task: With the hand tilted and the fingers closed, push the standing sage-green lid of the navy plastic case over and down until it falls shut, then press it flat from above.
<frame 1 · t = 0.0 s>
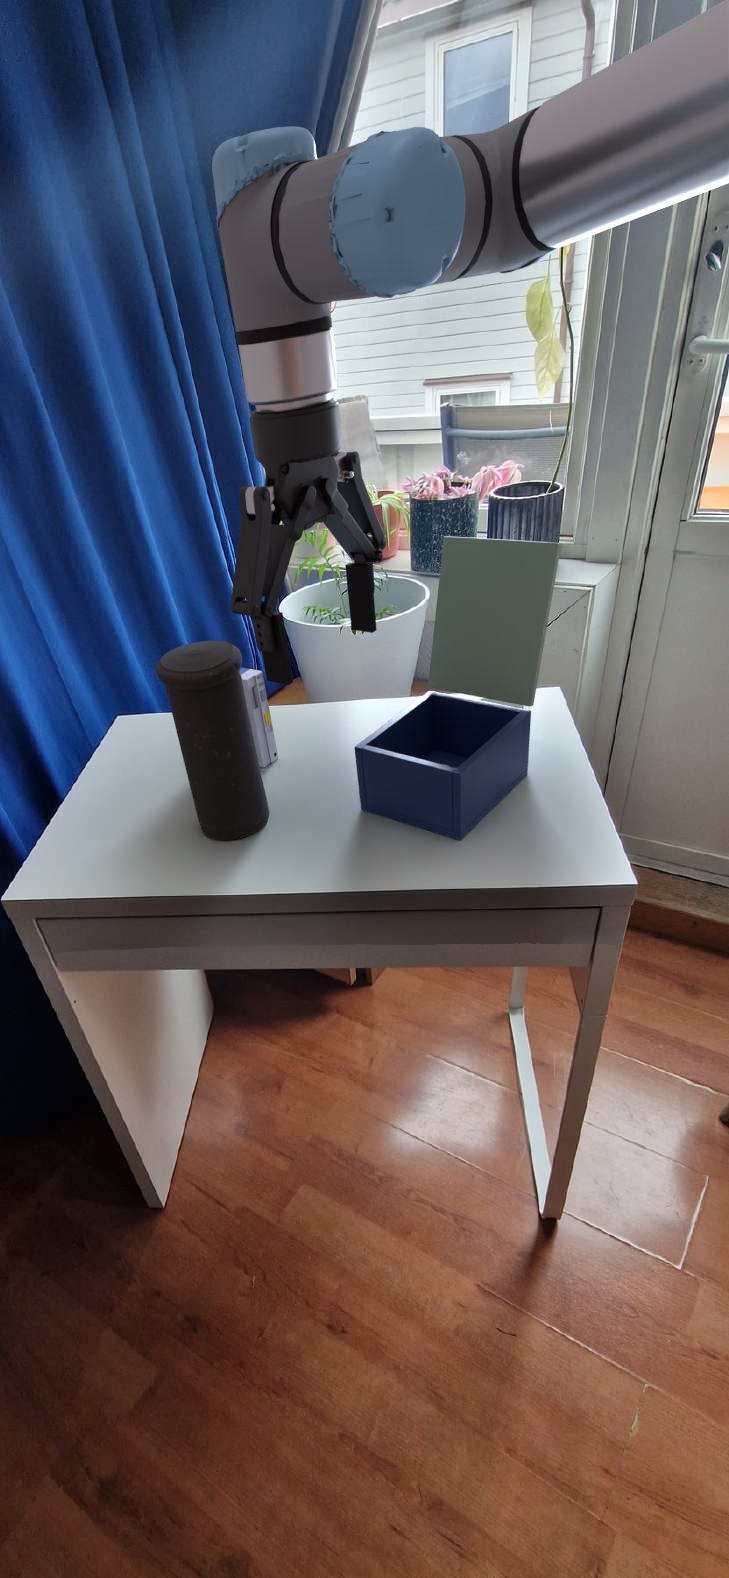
hand: (324, 655, 75), 17 cm above the table, tool pointing down, fingers open, 13 cm apart
container: (235, 822, 87), on the table
walkman: (249, 758, 98), on the table
case: (444, 792, 85), on the table
case lid: (488, 621, 80), point 16 cm above the table, hinge at 105.0°
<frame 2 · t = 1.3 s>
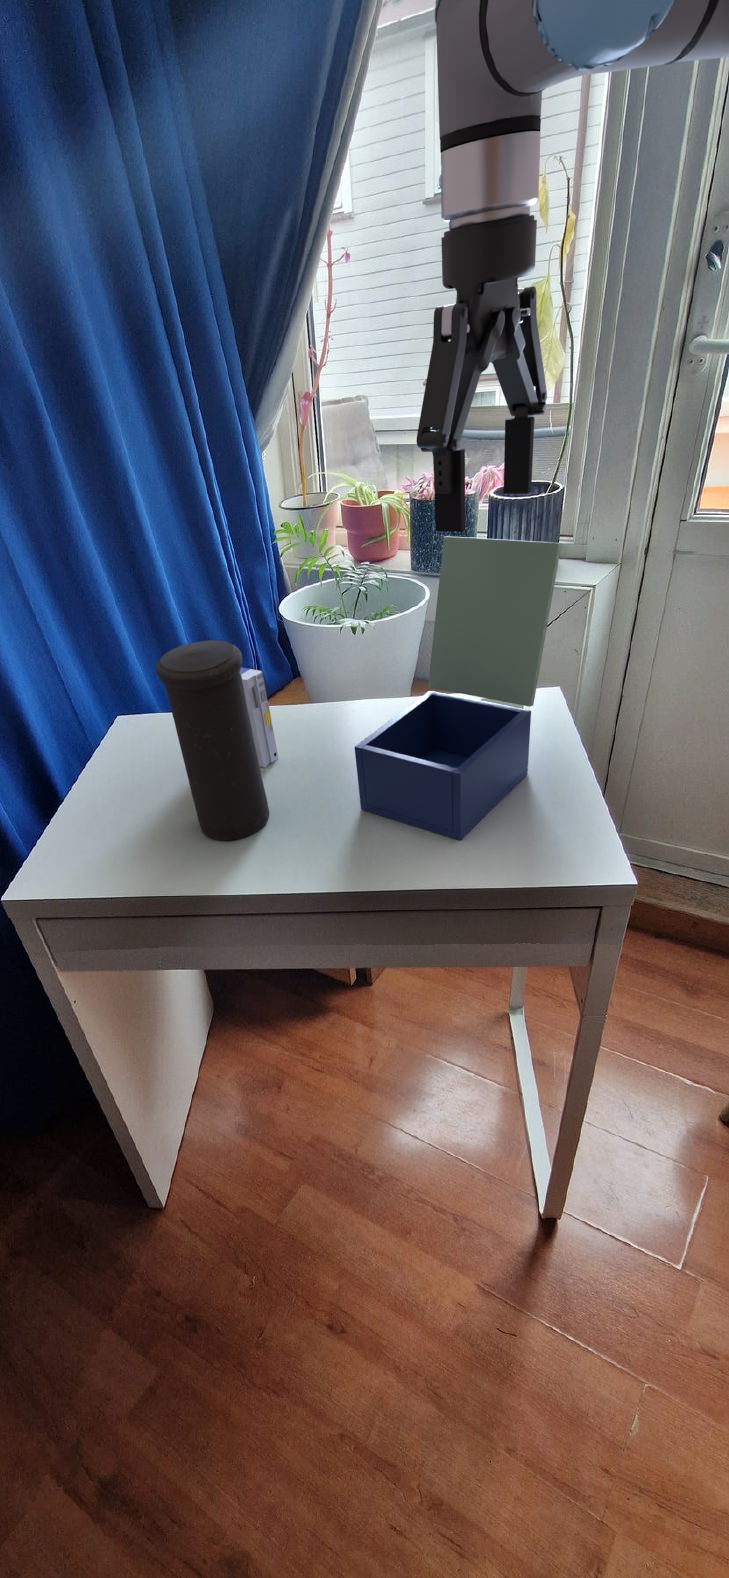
hand: (485, 511, 74), 27 cm above the table, tool pointing down, fingers open, 13 cm apart
nothing on the table moved.
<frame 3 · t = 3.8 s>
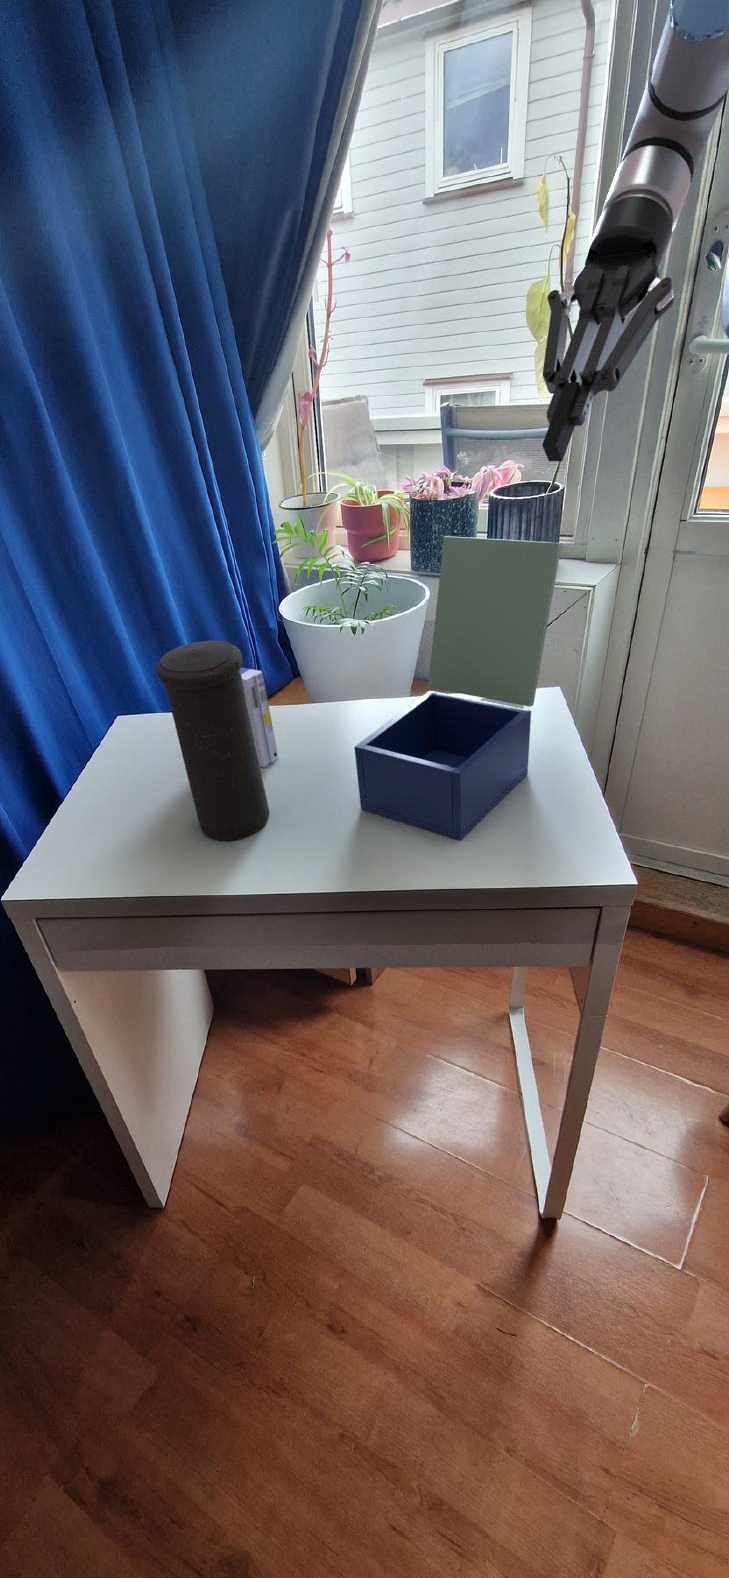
hand: (552, 453, 79), 29 cm above the table, tool tilted 45°, fingers closed
nothing on the table moved.
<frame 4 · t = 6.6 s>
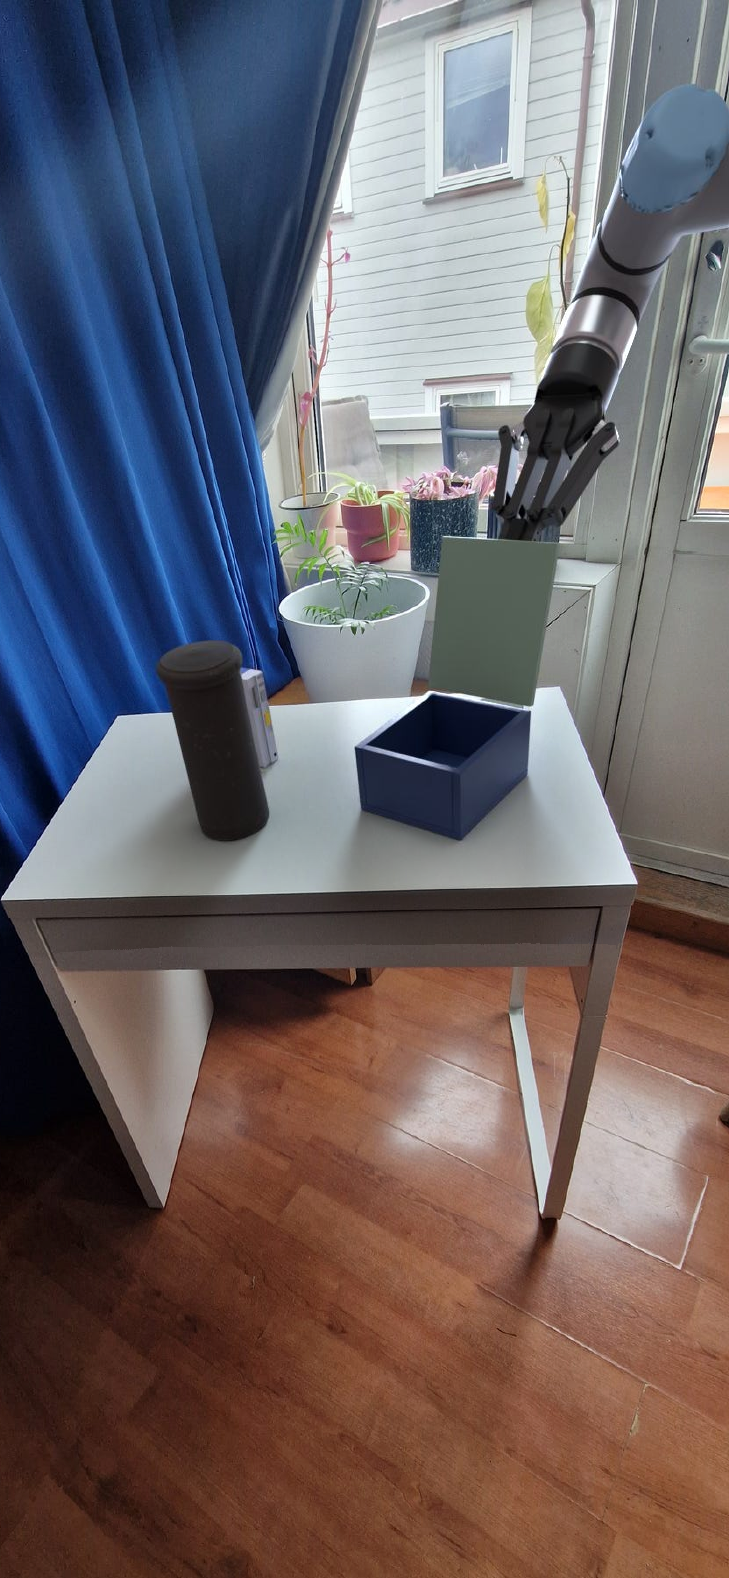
hand: (500, 585, 80), 19 cm above the table, tool tilted 45°, fingers closed
case lid: (488, 621, 80), point 16 cm above the table, hinge at 103.8°, touching gripper
everything else where it was.
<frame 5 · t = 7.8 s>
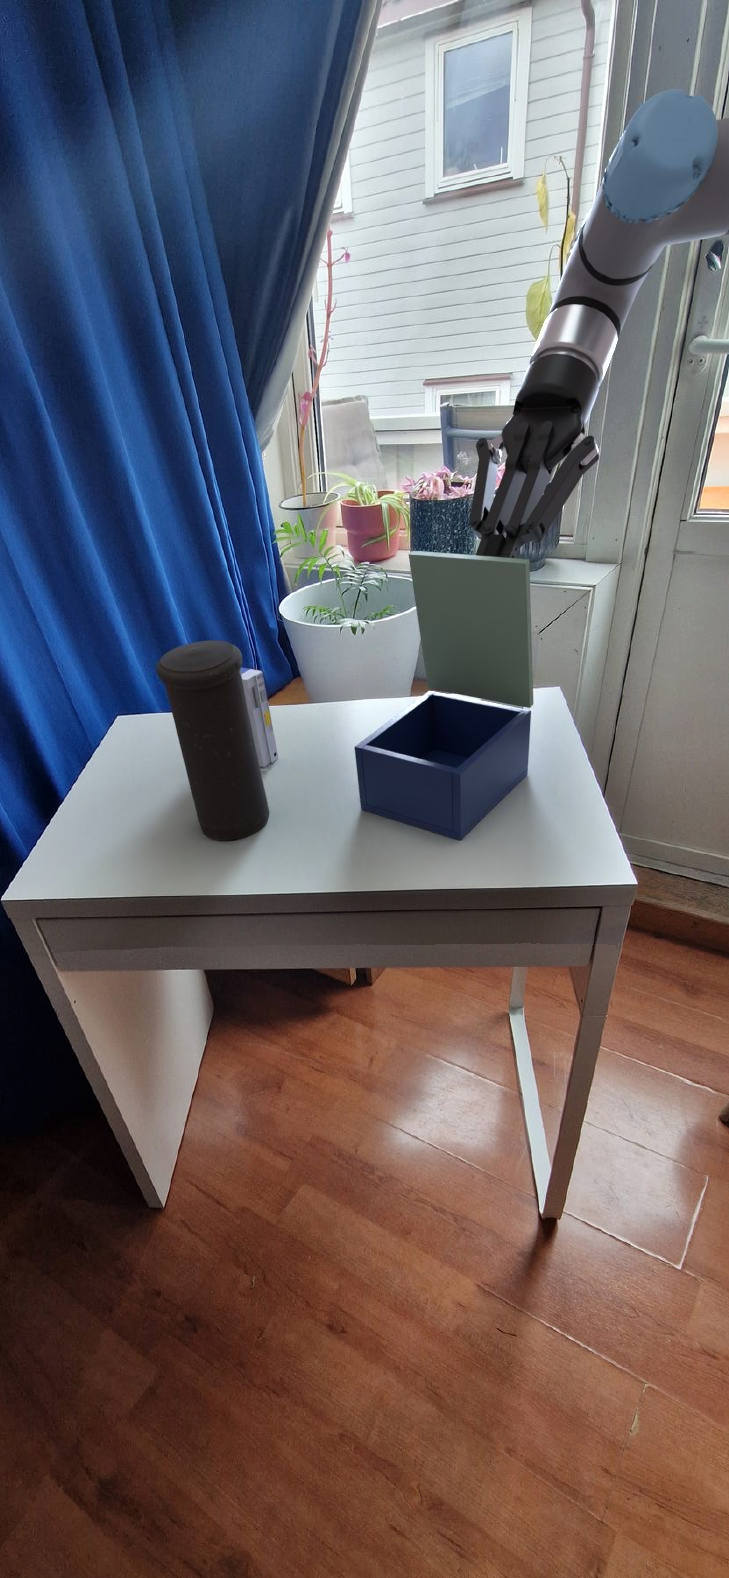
hand: (477, 602, 77), 19 cm above the table, tool tilted 45°, fingers closed
case lid: (472, 631, 78), point 16 cm above the table, hinge at 80.2°
everything else where it was.
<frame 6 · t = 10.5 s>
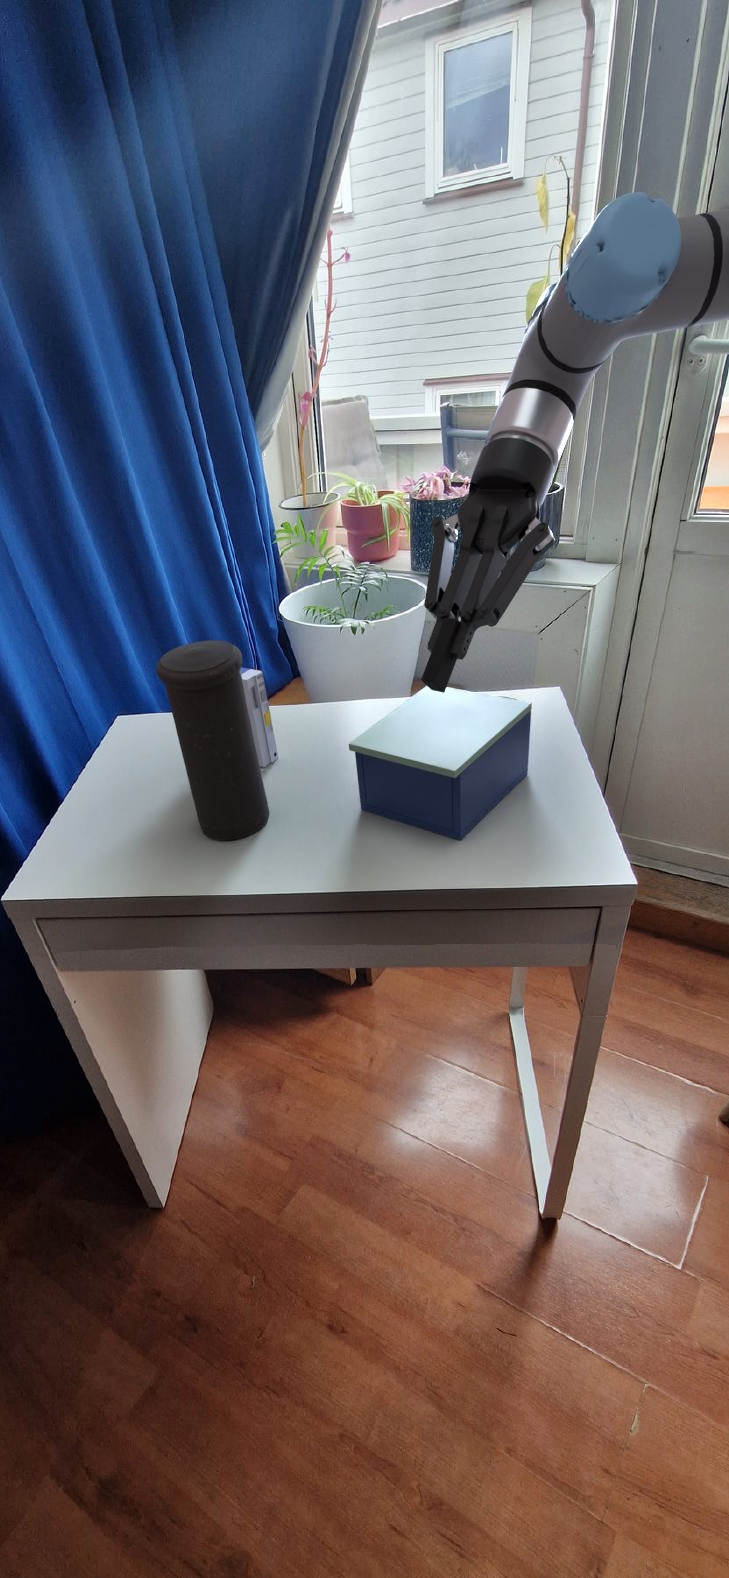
hand: (432, 686, 76), 13 cm above the table, tool tilted 45°, fingers closed
case lid: (441, 726, 80), point 8 cm above the table, hinge at -0.2°
everything else where it was.
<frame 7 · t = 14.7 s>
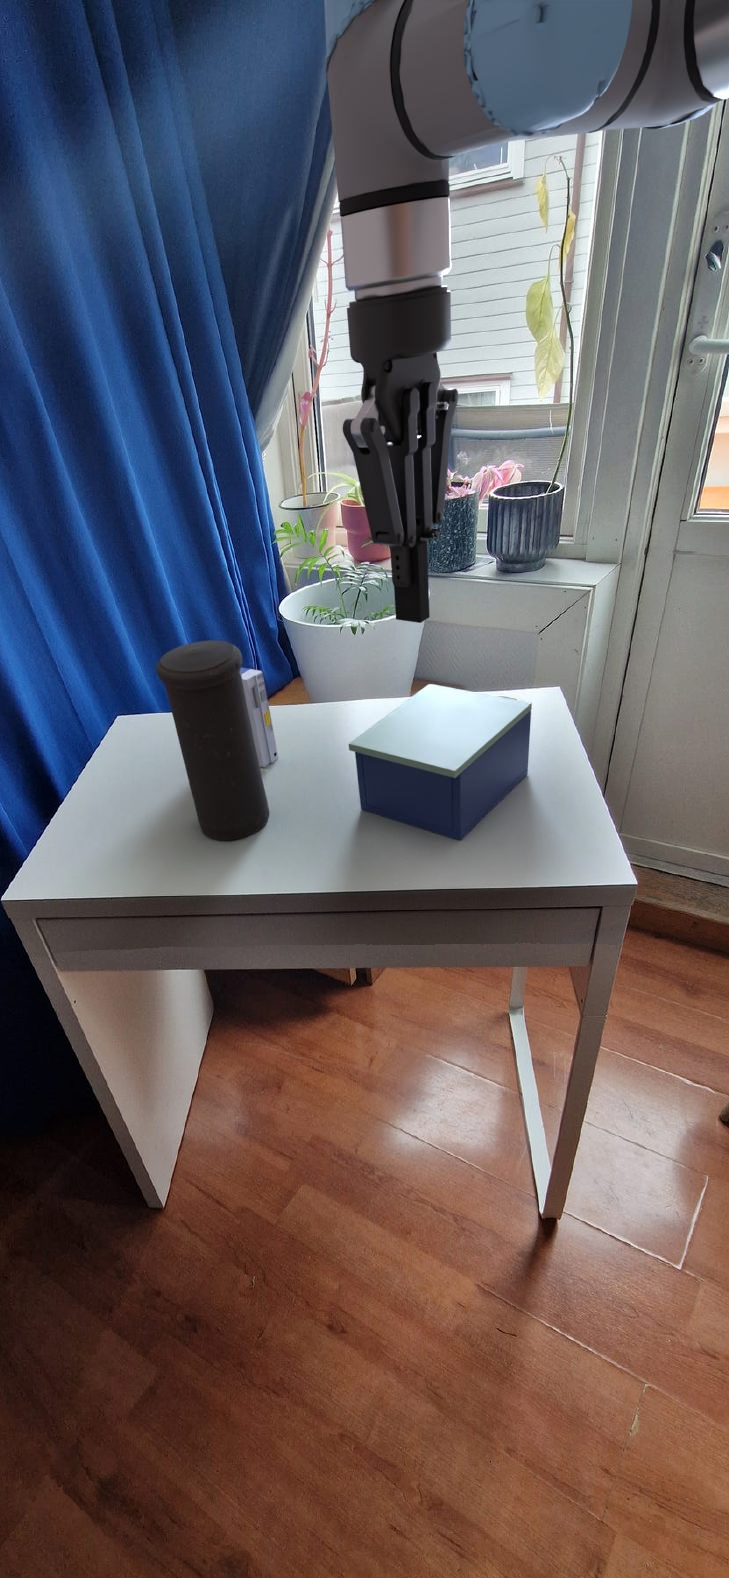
hand: (412, 618, 69), 21 cm above the table, tool pointing down, fingers closed
nothing on the table moved.
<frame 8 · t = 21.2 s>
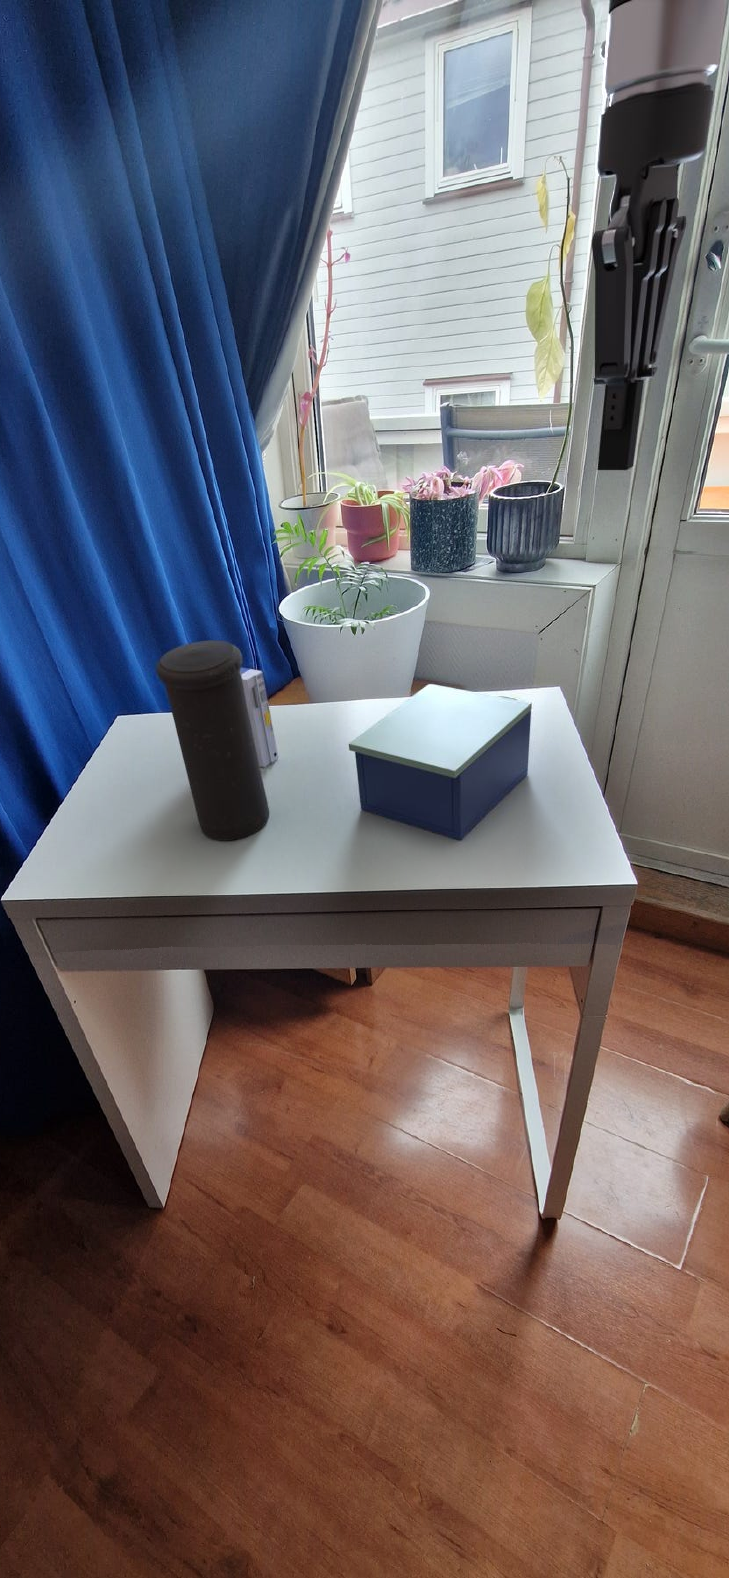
hand: (615, 468, 68), 29 cm above the table, tool pointing down, fingers closed
nothing on the table moved.
at the end: case lid at +0° (first picture: +105°); container moved 0.2 cm from its start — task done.
